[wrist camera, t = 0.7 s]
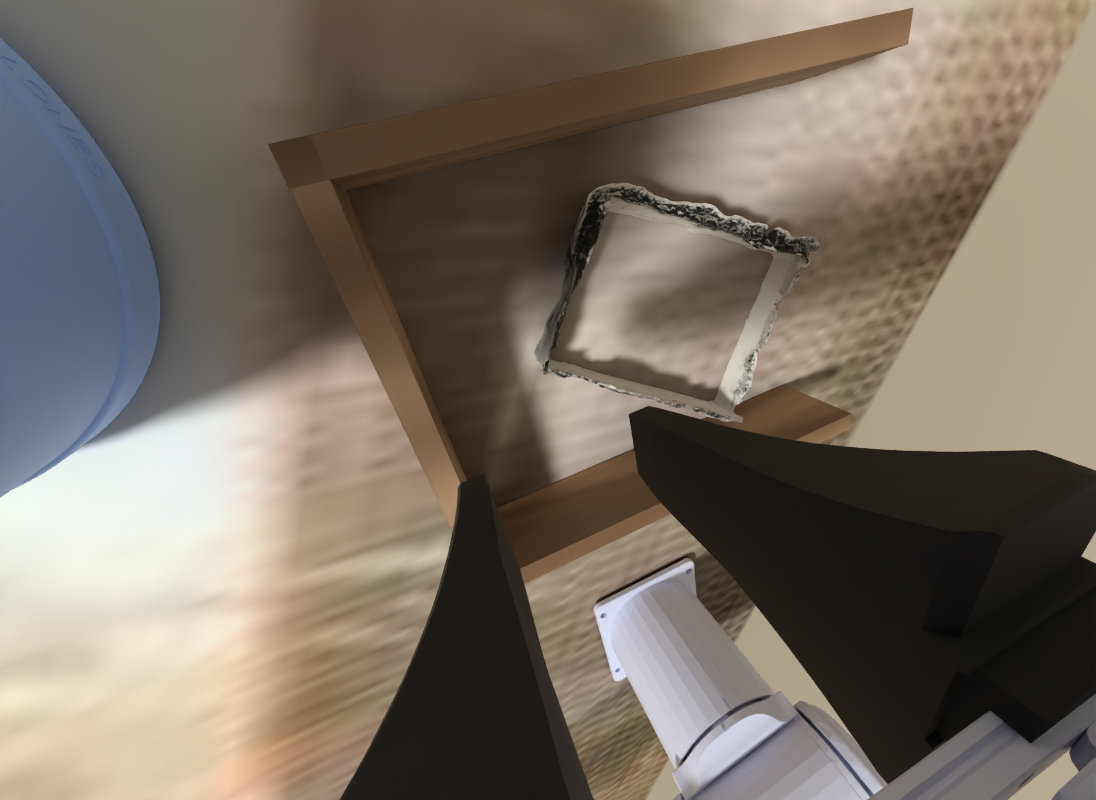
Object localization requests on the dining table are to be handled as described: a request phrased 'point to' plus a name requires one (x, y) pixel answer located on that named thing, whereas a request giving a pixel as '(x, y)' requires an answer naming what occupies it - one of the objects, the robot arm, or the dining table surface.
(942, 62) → the dining table surface
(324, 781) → the dining table surface
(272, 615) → the dining table surface
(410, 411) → the walnut u-shaped frame
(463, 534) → the robot arm
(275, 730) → the dining table surface
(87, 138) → the water jug
